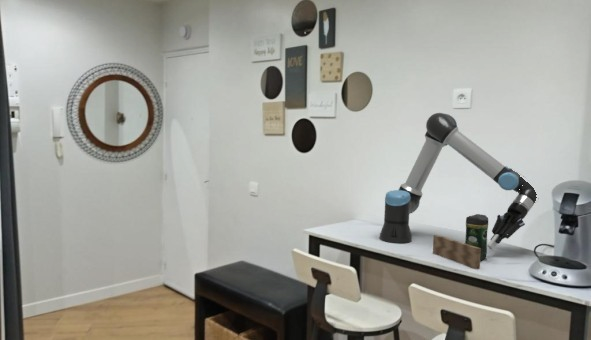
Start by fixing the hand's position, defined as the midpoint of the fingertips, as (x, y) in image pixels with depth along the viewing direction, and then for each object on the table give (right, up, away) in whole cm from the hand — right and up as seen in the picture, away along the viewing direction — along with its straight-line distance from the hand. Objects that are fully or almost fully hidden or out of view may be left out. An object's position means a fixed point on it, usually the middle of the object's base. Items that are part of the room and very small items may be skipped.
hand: (490, 247), depth 194 cm
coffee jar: (-8, -4, -3) cm, 9 cm away
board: (-18, -4, -8) cm, 20 cm away
